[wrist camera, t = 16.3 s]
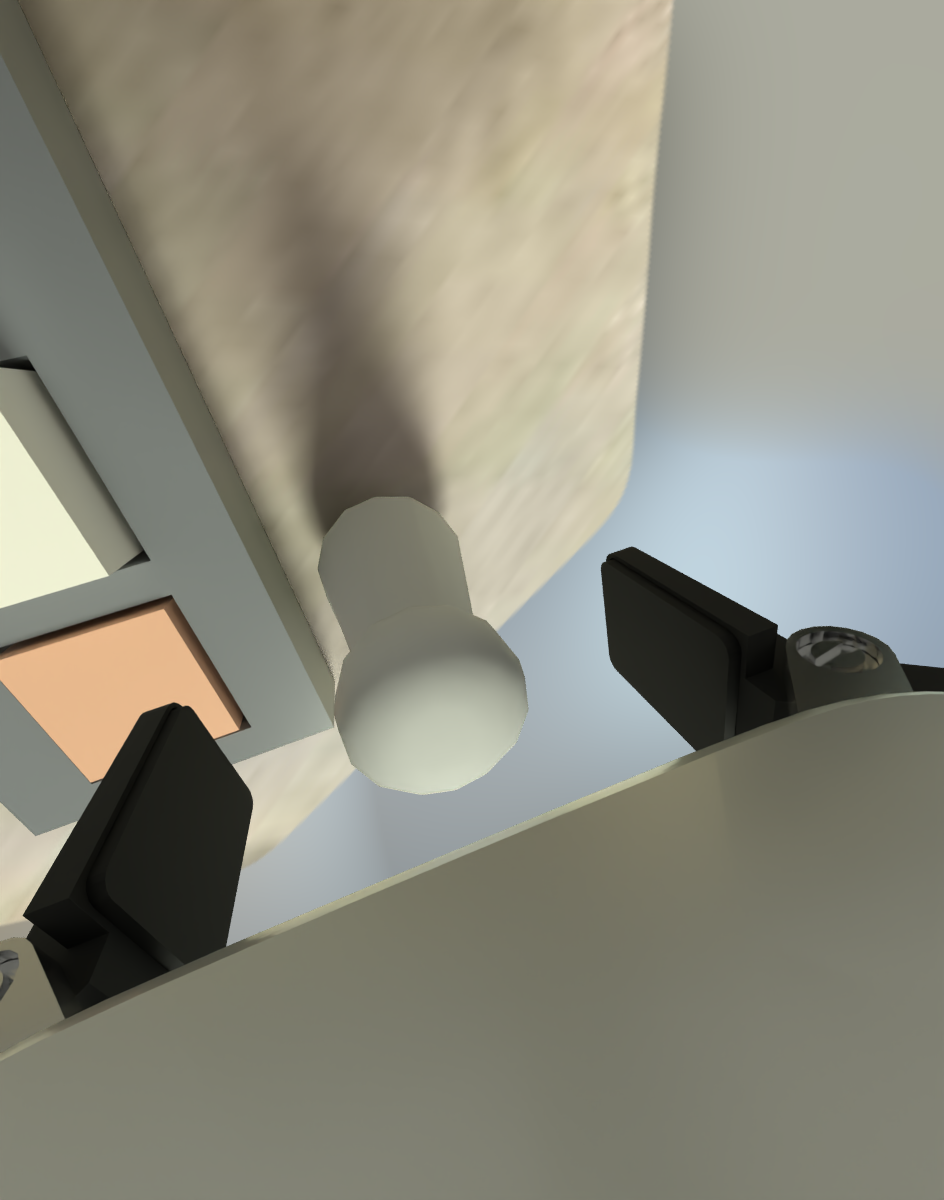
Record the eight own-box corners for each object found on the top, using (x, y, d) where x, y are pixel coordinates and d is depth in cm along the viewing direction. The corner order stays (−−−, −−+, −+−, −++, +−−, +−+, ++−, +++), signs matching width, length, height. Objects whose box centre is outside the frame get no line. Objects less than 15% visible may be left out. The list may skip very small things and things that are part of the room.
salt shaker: (376, 456, 19) (431, 542, 8) (473, 538, 22) (624, 695, 10) (293, 562, 20) (228, 784, 8) (396, 628, 22) (455, 869, 11)
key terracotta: (49, 617, 18) (-14, 664, 15) (194, 573, 19) (163, 609, 15) (129, 723, 20) (90, 782, 17) (254, 680, 21) (239, 729, 18)
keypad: (-564, 36, 10) (-967, -126, 7) (2, -33, 12) (-121, -191, 9) (81, 770, 21) (35, 836, 18) (334, 681, 23) (333, 727, 19)
